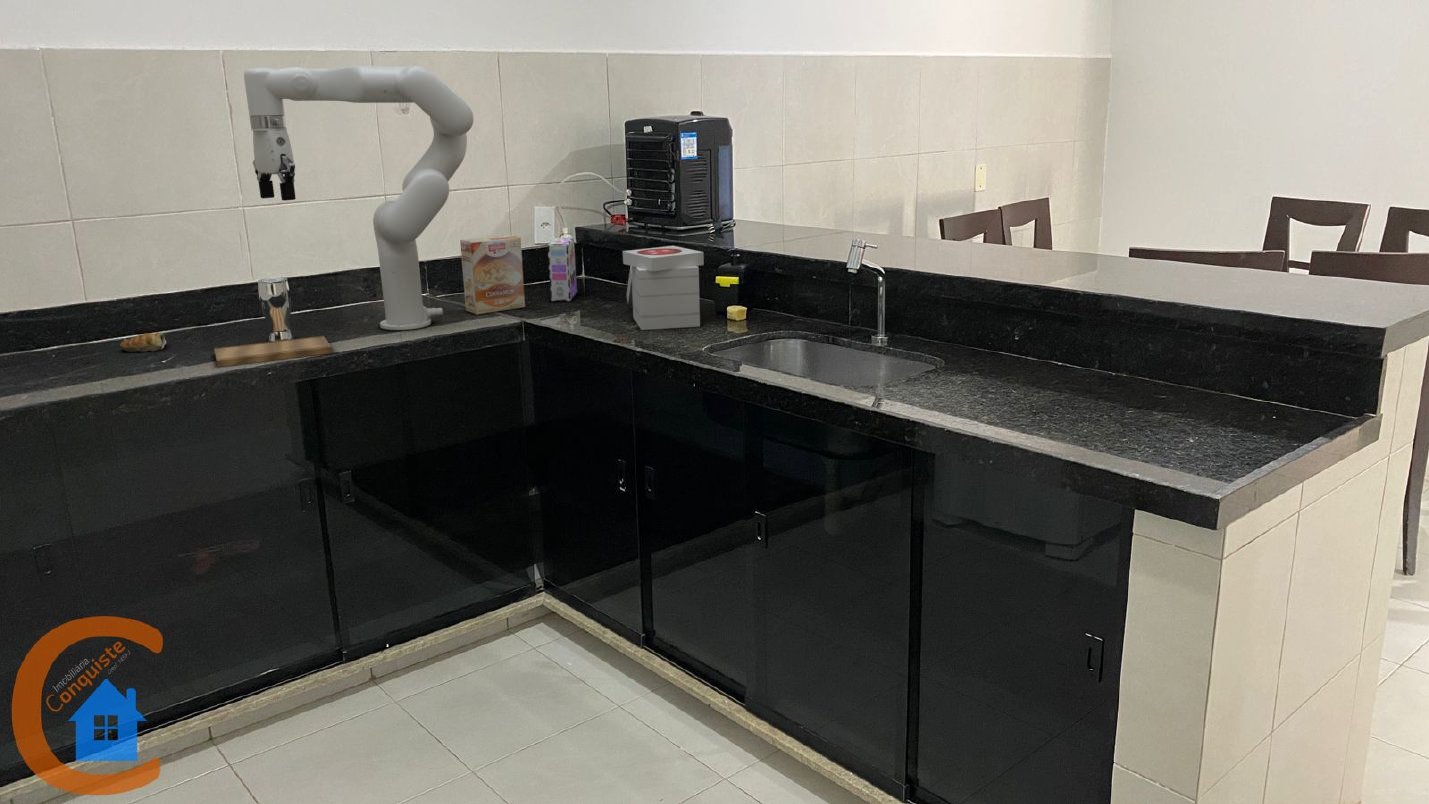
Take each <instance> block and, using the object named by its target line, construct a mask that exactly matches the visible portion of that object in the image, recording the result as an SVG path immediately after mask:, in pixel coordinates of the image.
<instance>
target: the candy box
mask: <svg viewBox="0 0 1429 804" xmlns="http://www.w3.org/2000/svg"><path fill="white" fill-rule="evenodd" d="M547 259H548V261H547V262H548V274H549V277H548V278H549V292H550V302H571V301H572V299H574V297H575V296H576V295H577V294H578V284H577V269H576V268H577V267H576V249H575V237H555V238H554V239H553V240H551V241H550V242H549V243H548V244H547Z"/></svg>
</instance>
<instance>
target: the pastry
mask: <svg viewBox="0 0 1429 804" xmlns="http://www.w3.org/2000/svg"><path fill="white" fill-rule="evenodd" d="M165 345H167V340H166V337H165V335H164V334H163V332H161V331H160V332H156V333H153V332H150V333H149V332H148V333H147V332H146V333H142V334H138V335H136V336H133V337H131V338H128V339H124V340H123V341H122V342H120V343H119V346H120V348H121V349H122V351H126V352H130V353H132V352H134V353H135V352H148V351H149V352H150V351H151V352H157V351H161V350H163V349H164V348H165Z"/></svg>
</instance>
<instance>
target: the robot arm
mask: <svg viewBox="0 0 1429 804" xmlns="http://www.w3.org/2000/svg"><path fill="white" fill-rule="evenodd" d="M243 79H244V80H243V81H244V87H245V94H246V102H247V110H248V115H249V123H250V130H251V132H252V145H253V146H252V147H253V157H254V160H253V161H252V165H253V168H254V173H255V175H256V180H257V182H258V188H259V196H260V198H261V199H273V198H275V189H274V182H273V180H272V176H273V175H277V177H278V179H279V181H280V182H279V190H280V197H281V201H283V202H285V201H295V200H296V198H297V197H296V190H295V181H296V180H295V176H296V172H295V171H296V164H295V160H294V154H293V149H292V144H291V140H290V137H289V132H288V130H287V124H286V116H285V108H284V100H291V101H294V102H309V101H310V102H318V101H319V102H327V101H328V102H345V103H346V102H348V103H353V104H354V103H355V104H363V103H364V104H378V103H379V104H386V103H387V104H407V103H408V104H413V103H414V104H415V105H416V106H417V107H418V108H419V109H421V110H422V111H423V112H424V113H425V114H426V115H427V116H429V120H430V124H431V127H432V131H433V138H432V141H431V143H430V145H429V146H428V148H427V149H426V151H425V152H424V154H423V155H422V156H421V157H420V159H419V160H418V161H417V162H416V164H415V165H414V166H413V167H412V169H410V170H409V172H408V173H406V175H405V176H404V178H403V180H402V184H401V185H402V187H401V188H402V192H401V193H400V195H399V196H398V197H397V198H396V200H387V201H384V202H382V203H381V204H380V205H378V206H377V208H376V209H375V211H374V213H373V218H372V224H373V231H374V236H375V237H374V238H375V241H376V247H377V254H378V261H379V271H380V272H379V273H380V279H381V281H380V282H381V288H382V290H381V291H382V298H383V306H384V307H383V308H384V314H385V319H384V320H381V321H380V322H379V328H381V329H383V330H387V331H408V330H416V329H421V328H425V327H428V326H430V325H431V324H432V319H431V317H433V316H434V317H438V316H443V315H444V310H443V308H442V307H426V306H425V305H424V301H423V291H422V280H421V272H420V260H419V253H418V246H417V240H416V239H418V238H419V237H420V235H421V234H422V233H423V232H424V231H425V230H426V229H427V227H428V226H429V225H430V224H431V222H432V221H433V220H434V218H435V217H436V216H437V215H438V213H440V211H441V210H442V209H443V207H444V205H446V202H447V201H448V198H449V194H450V186H449V184H450V183H449V181H450V180H451V179H452V177H453V176H454V174H455V173H456V171H457V170H458V169H459V168H460V167H461V165H462V163H463V161H464V159H465V156H466V153H467V149H468V137H467V136H468V135H467V133H469V131H470V130H471V129H472V127H473V124H474V121H475V120H474V113H473V111H472V108H471V107H470V105H469V104H468V103H467V102H466V101H465V100H463V98H461V97H460V95H458V94H457V93H456V92H455V91H454V90H452V89H451V87H449V86H448V85H447V84H446V83H445V82H444V81H443V80H442V79H440V78H439V77H438V76H437V75H436V74H434V72H432V71H431V70H430V69H428V68H426V67H425V66H423V65H403V66H401V65H399V66H398V65H350V66H344V67H333V68H332V67H331V68H310V67H309V68H308V67H307V68H305V67H302V66H292V67H284V68H272V67H249V68H247V69H245V70H244V72H243Z"/></svg>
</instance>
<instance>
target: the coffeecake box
mask: <svg viewBox="0 0 1429 804" xmlns="http://www.w3.org/2000/svg"><path fill="white" fill-rule="evenodd" d="M521 238H522V237H521V236H517V235H511V234H507V235H496V236H487V237H478V238H469V239H460V240H459V241H460V242H459V243H460V255H461V266H462V280H463V289H464V291H463V292H464V303H465V311H466V312H469V313H472V314H474V315H476V316H477V315H483V314H489V313H496V312H503V311H509V310H515V309H522V308H526V300H525V299H526V297H525V285H524V284H525V283H524V282H525V281H524V271H523V255H522V240H521Z"/></svg>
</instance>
